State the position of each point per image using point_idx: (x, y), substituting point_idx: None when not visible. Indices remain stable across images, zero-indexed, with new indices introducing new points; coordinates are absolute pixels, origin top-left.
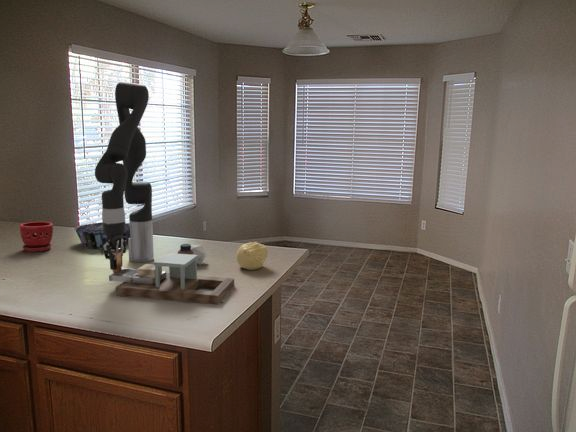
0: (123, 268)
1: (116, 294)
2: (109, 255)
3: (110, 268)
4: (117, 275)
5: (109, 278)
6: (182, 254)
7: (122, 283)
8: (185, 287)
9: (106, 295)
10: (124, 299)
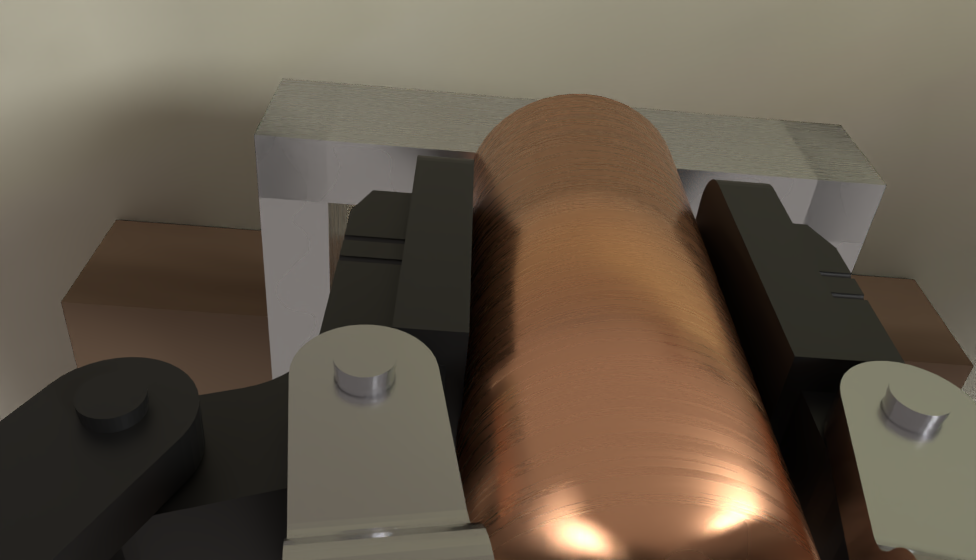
0: (828, 227)
1: (112, 233)
2: (296, 486)
3: (417, 159)
4: (299, 305)
5: (271, 110)
6: None
7: (261, 330)
8: None
9: (57, 80)
10: (35, 366)
